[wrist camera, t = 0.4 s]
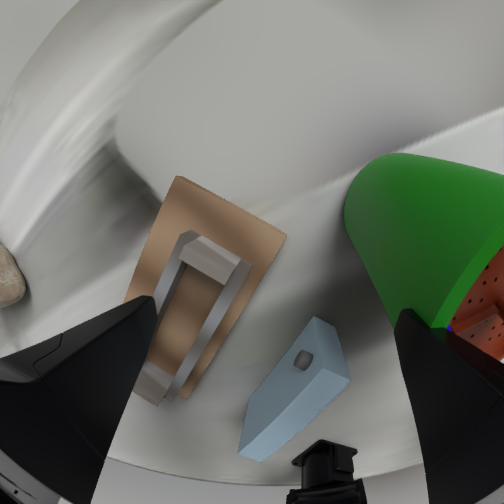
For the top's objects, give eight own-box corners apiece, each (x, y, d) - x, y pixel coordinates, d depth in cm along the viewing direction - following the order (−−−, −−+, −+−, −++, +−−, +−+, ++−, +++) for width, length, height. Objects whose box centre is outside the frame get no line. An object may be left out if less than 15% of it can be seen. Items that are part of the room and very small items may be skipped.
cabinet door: (268, 406, 27) (261, 462, 19) (242, 395, 27) (229, 450, 19) (334, 326, 24) (351, 380, 16) (306, 311, 24) (312, 363, 16)
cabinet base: (190, 390, 27) (174, 423, 22) (115, 343, 27) (89, 368, 22) (286, 234, 22) (286, 247, 17) (182, 176, 22) (153, 173, 17)
